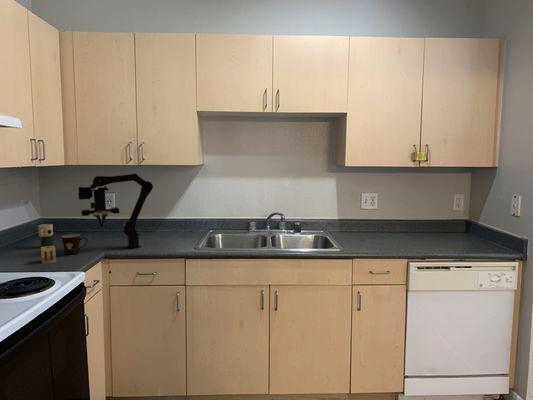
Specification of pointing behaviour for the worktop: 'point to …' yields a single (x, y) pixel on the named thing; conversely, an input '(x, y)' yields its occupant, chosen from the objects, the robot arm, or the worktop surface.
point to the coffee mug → (72, 244)
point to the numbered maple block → (48, 254)
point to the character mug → (46, 234)
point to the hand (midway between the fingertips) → (101, 226)
